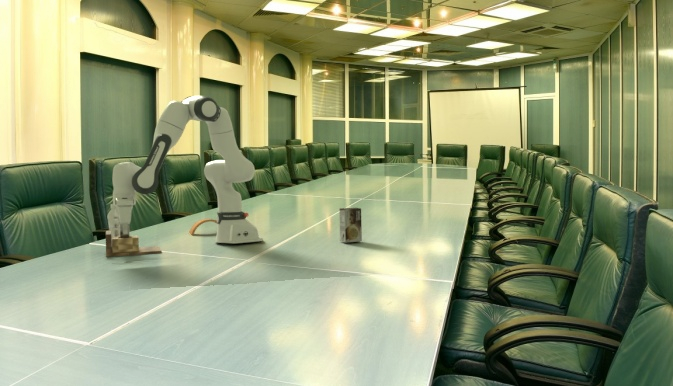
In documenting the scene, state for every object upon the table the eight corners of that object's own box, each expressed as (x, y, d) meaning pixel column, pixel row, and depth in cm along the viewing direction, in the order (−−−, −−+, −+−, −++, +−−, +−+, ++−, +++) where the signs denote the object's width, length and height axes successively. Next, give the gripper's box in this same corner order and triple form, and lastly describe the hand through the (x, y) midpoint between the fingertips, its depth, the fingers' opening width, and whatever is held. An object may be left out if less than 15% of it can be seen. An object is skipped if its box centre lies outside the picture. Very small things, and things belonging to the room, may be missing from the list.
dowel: (129, 244, 209) (128, 216, 209) (129, 245, 206) (129, 217, 206) (120, 245, 208) (119, 217, 207) (120, 246, 204) (119, 217, 204)
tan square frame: (137, 248, 214) (137, 235, 213) (138, 251, 204) (138, 237, 204) (112, 249, 209) (112, 236, 209) (112, 252, 200) (112, 239, 200)
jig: (158, 248, 220) (158, 228, 220) (161, 253, 205) (161, 231, 205) (106, 251, 211) (106, 230, 211) (106, 256, 197) (105, 234, 196)
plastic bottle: (118, 249, 218) (117, 204, 217) (104, 249, 219) (103, 204, 219) (127, 247, 224) (126, 203, 224) (113, 247, 226) (112, 203, 225)
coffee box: (355, 240, 243) (355, 207, 243) (362, 241, 237) (361, 208, 237) (339, 241, 239) (339, 208, 239) (345, 242, 233) (344, 208, 233)
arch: (187, 239, 256) (187, 219, 255) (225, 236, 266) (224, 217, 266) (190, 240, 251) (190, 220, 250) (228, 237, 261) (228, 218, 261)
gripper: (116, 200, 214) (116, 231, 215) (116, 201, 196) (117, 236, 196) (131, 199, 217) (132, 231, 217) (133, 201, 198) (134, 235, 199)
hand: (125, 233), depth 207 cm, fingers closed on dowel, 4 cm apart
